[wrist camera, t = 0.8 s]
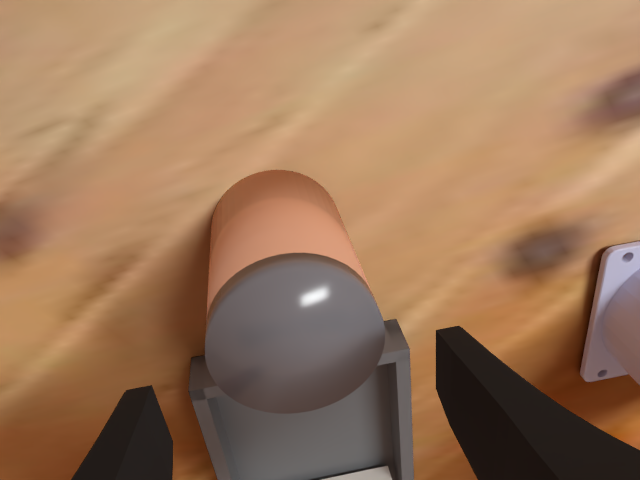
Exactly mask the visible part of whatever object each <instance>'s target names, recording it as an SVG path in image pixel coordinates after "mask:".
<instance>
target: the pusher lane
mask: <svg viewBox="0 0 640 480" xmlns="http://www.w3.org/2000/svg"><path fill="white" fill-rule="evenodd" d="M383 322H384V327H385V344H384V350H383V353H382V356H381V359H380V361H379V362H378V364H377V366H376V368H375V369H374V371H373V372H372V374H371V375H370V376H369V378H368V379H367V380H366V381H365V382H364V383H363V384H362V385H361V386H360V387H359V388H357V389H356V390H355V391H354V392H352V393H351V394H349V395H348V396H346V397H345V398H343V399H341V400H339V401H337V402H335V403H333V404H331V405H328V406H326V407H323V408H320V409H316V410H312V411H308V412H302V413H292V414H278V413H269V412H263V411H259V410H255V409H252V408H249V407H247V406H244V405H242V404H240V403H238V402H236V401H235V400H233V399H232V398H230V397H229V396H228V395H226V394H225V393H224V392H223V391H222V390H221V389H220V388H219V387H218V385H217V384H216V383H215V382H214V380H213V378H212V377H211V375H210V373H209V370H208V367H207V364H206V359H205V355H203V356H198V357H193V358H191V367H190V379H189V391H188V392H189V395H190V398H191V401H192V404H193V407H194V410H195V413H196V416H197V419H198V422H199V425H200V428H201V431H202V434H203V437H204V440H205V443H206V446H207V449H208V452H209V455H210V458H211V461H212V464H213V467H214V470H215V473H216V476H217V479H218V480H322V479H327V478H331V477H336V476H341V475H345V474H350V473H355V472H360V471H364V470H369V469H374V468H379V467H383V466H388V468H389V471H390V474H391V478H392V480H414V469H413V438H412V407H411V377H410V348H409V346H408V344H407V342H406V340H405V337H404V335H403V333H402V331H401V328H400V326H399V324H398V322H397V320H396V319H394V320H389V321H383Z"/></svg>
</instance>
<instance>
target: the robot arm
mask: <svg viewBox="0 0 640 480" xmlns="http://www.w3.org/2000/svg"><path fill="white" fill-rule="evenodd" d="M626 253H627V254H626ZM625 254H626V255H625ZM624 255H625V256H624ZM623 256H624V257H623ZM628 374H629V375H630V376H631V377H632V378H633V379H634V380H635V381H636V382H637V383H638V384H639V385H640V241H638V242H632V243H627V244H622V245H616V246H612V247H610V248H608V249H607V250H606V251H605V252H604V253H603V255H602V258H601V263H600V269H599V274H598V279H597V285H596V290H595V295H594V300H593V306H592V311H591V316H590V322H589V327H588V332H587V338H586V343H585V348H584V353H583V359H582V364H581V369H580V375H581V377H582V378H583V379H584V380H585V381H586V382H593V381H598V380H603V379H608V378H613V377H618V376H623V375H628ZM436 389H437V392H438V395H439V398H440V400H441V403H442V406H443V409H444V411H445V414H446V416H447V419H448V422H449V424H450V426H451V428H452V430H453V432H454V434H455V436H456V438H457V440H458V442H459V444H460V446H461V448H462V450H463V452H464V454H465V455H466V457H467V459H468V461H469V463H470V465H471V467H472V469H473V471H474V473H475V475H476V477H477V479H478V480H640V450H638V449H636V448H634V447H632V446H630V445H628V444H626V443H624V442H622V441H620V440H619V439H617V438H615V437H613V436H611V435H609V434H607V433H606V432H604V431H602V430H600V429H598V428H597V427H595V426H593V425H592V424H590V423H588V422H587V421H585V420H583V419H582V418H580V417H578V416H577V415H575V414H573V413H572V412H570V411H569V410H567V409H566V408H564V407H563V406H561V405H560V404H558V403H557V402H555V401H554V400H552V399H551V398H550V397H548V396H547V395H545V394H544V393H542V392H541V391H540V390H538V389H537V388H535V387H534V386H533V385H531V384H530V383H529V382H527V381H526V380H525V379H523V378H522V377H521V376H520V375H518V374H517V373H516V372H514V371H513V370H512V369H511V368H509V367H508V366H507V365H506V364H504V363H503V362H502V361H501V360H499V359H498V358H497V357H496V356H495V355H493V354H492V353H491V352H490V351H489V350H487V349H486V348H485V347H484V346H483V345H481V344H480V343H479V342H478V341H477V340H476V339H474V338H473V337H472V336H471V335H470V334H469V333H467V332H466V331H465V330H464V329H463V328H461V327H460V326H455V327H450V328H445V329H440V330H436ZM172 470H173V440H172V438H171V435H170V433H169V430H168V427H167V425H166V422H165V419H164V417H163V414H162V411H161V409H160V406H159V403H158V401H157V398H156V395H155V393H154V390H153V387H152V385H151V386H146V387H141V388H135V389H130V390H126V392H125V393H124V394H123V396H122V398H121V399H120V401H119V403H118V404H117V406H116V408H115V410H114V411H113V413H112V415H111V417H110V418H109V420H108V422H107V423H106V425H105V427H104V428H103V430H102V432H101V433H100V435H99V437H98V438H97V440H96V442H95V443H94V445H93V446H92V448H91V450H90V451H89V453H88V454H87V456H86V457H85V459H84V461H83V462H82V464H81V465H80V467H79V469H78V470H77V472H76V473H75V475H74V476H73V477H72V479H71V480H172Z"/></svg>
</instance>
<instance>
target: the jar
mask: <svg viewBox="0 0 640 480" xmlns="http://www.w3.org/2000/svg"><path fill="white" fill-rule="evenodd" d="M384 344H385V327H384V322H383V319H382V316H381V313H380V311H379V308H378V306H377V303H376V301H375V299H374V296H373V294H372V291H371V289H370V287H369V284H368V282H367V279H366V277H365V275H364V272H363V270H362V267H361V265H360V263H359V260H358V258H357V255H356V253H355V251H354V248H353V246H352V243H351V241H350V239H349V236H348V234H347V231H346V229H345V227H344V224H343V222H342V219H341V217H340V215H339V212H338V210H337V207H336V205H335V203H334V201H333V199H332V198H331V196H330V195H329V193H328V192H327V191H326V190H325V189H324V188H323V187H322V186H321V185H320V184H319V183H317V182H316V181H314V180H313V179H311V178H309V177H307V176H305V175H303V174H300V173H296V172H293V171H286V170H270V171H263V172H259V173H256V174H253V175H250V176H248V177H246V178H244V179H242V180H240V181H239V182H237V183H236V184H234V185H233V186H232V187H231V188H230V189H229V190H228V191H227V192H226V193H225V194H224V195H223V196H222V198H221V199H220V201H219V202H218V204H217V206H216V209H215V211H214V214H213V218H212V224H211V240H210V259H209V278H208V297H207V317H206V336H205V359H206V364H207V367H208V370H209V373H210V375H211V377H212V378H213V380H214V382H215V383H216V384H217V385H218V387H219V388H220V389H221V390H222V391H223V392H224V393H225V394H226V395H228V396H229V397H230V398H232V399H233V400H235V401H236V402H238V403H240V404H242V405H244V406H247V407H249V408H252V409H255V410H259V411H263V412H269V413H278V414H292V413H302V412H308V411H312V410H316V409H320V408H323V407H326V406H328V405H331V404H333V403H335V402H337V401H339V400H341V399H343V398H345V397H346V396H348V395H349V394H351V393H352V392H354V391H355V390H356V389H357V388H359V387H360V386H361V385H362V384H363V383H364V382H365V381H366V380H367V379H368V378H369V376H370V375H371V374H372V372H373V371H374V369H375V368H376V366H377V364H378V362H379V361H380V359H381V356H382V353H383V350H384Z"/></svg>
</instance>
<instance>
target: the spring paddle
mask: <svg viewBox="0 0 640 480" xmlns="http://www.w3.org/2000/svg"><path fill="white" fill-rule="evenodd" d="M322 480H392V478H391V474H390V471H389V468H388V466H383V467H379V468H374V469H369V470H364V471H360V472H355V473H350V474H345V475H341V476H336V477H331V478H327V479H322Z"/></svg>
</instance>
